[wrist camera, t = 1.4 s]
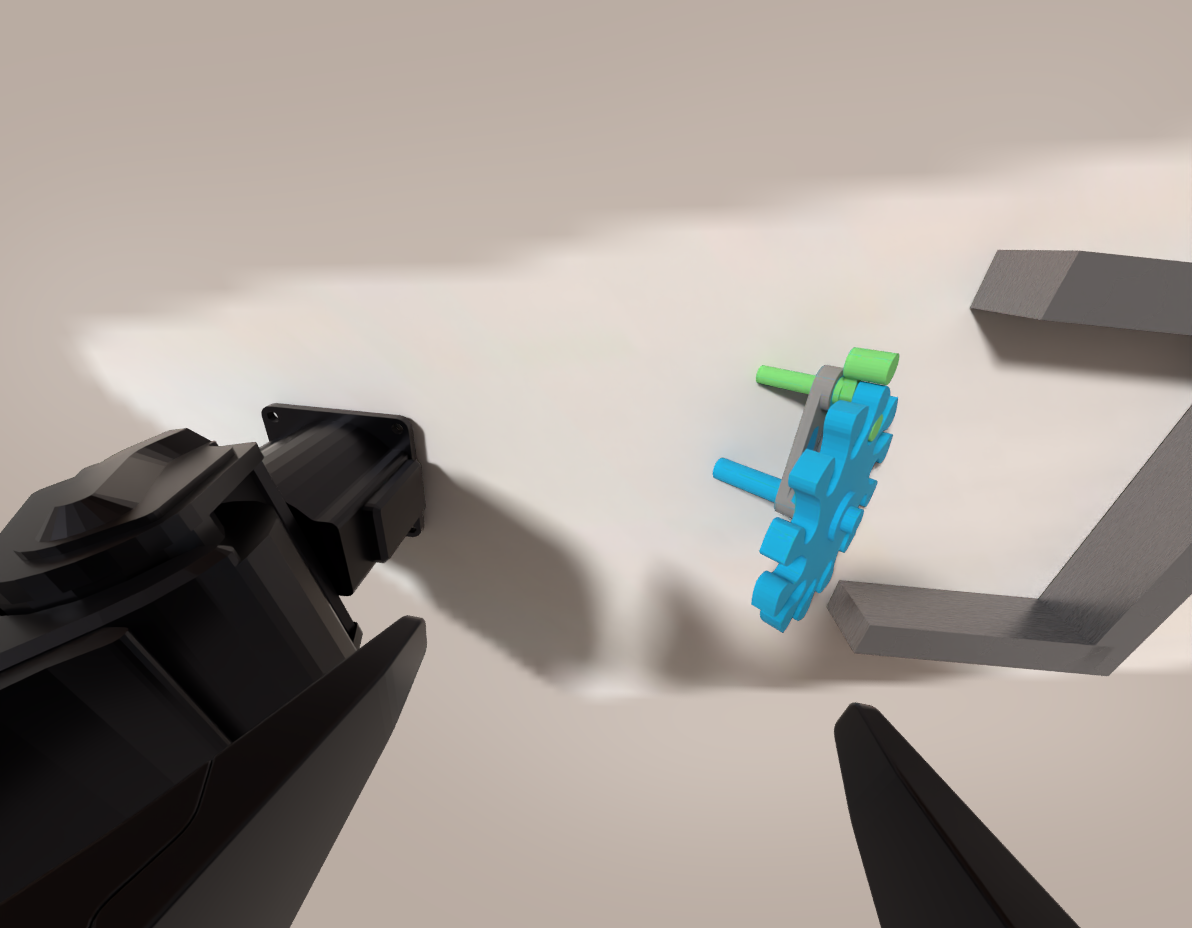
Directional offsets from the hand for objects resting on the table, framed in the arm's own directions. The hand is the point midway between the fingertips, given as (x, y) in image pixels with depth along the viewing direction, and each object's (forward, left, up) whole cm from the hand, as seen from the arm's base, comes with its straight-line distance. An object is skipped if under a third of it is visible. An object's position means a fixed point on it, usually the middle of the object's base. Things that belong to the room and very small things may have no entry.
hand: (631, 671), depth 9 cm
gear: (+8, 0, -12) cm, 15 cm away
